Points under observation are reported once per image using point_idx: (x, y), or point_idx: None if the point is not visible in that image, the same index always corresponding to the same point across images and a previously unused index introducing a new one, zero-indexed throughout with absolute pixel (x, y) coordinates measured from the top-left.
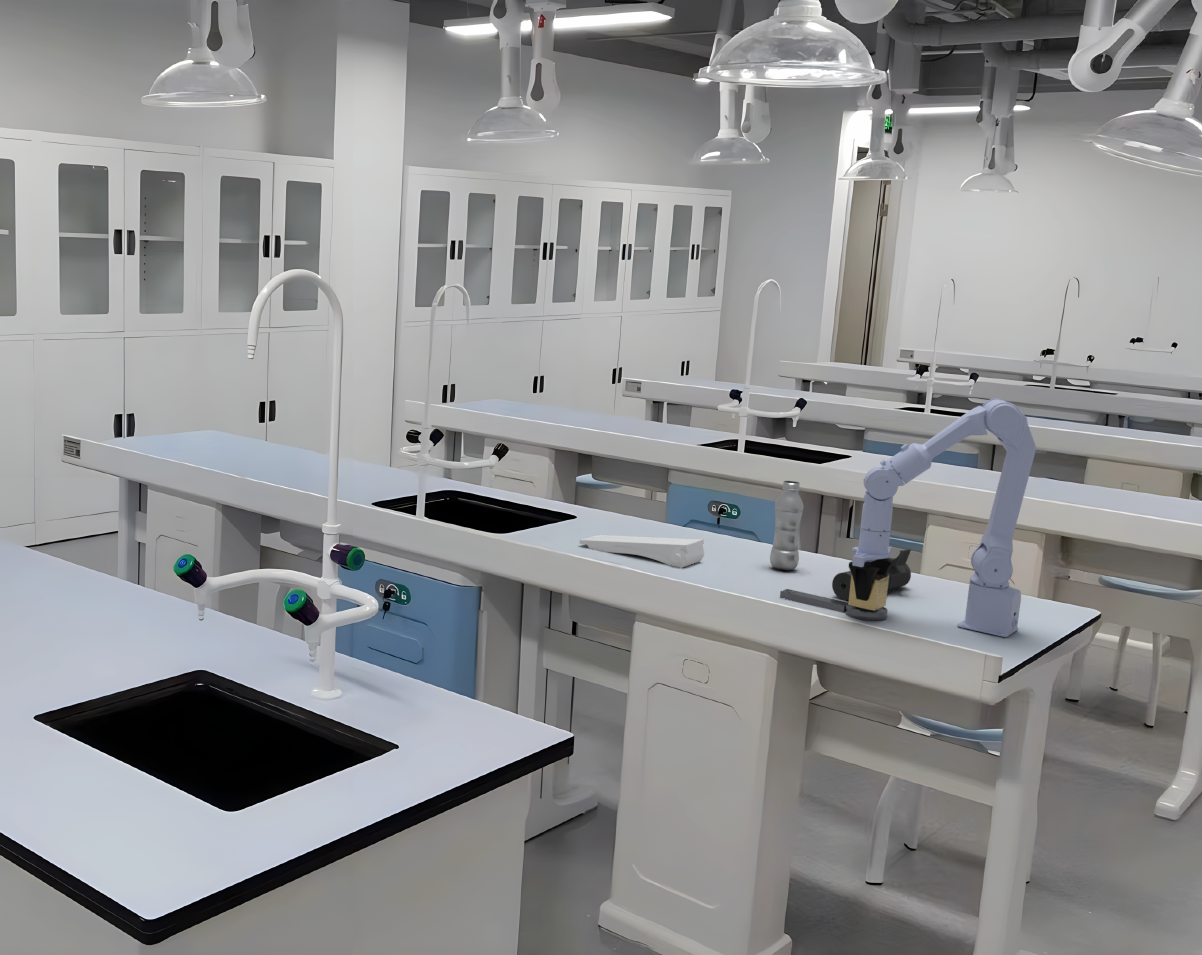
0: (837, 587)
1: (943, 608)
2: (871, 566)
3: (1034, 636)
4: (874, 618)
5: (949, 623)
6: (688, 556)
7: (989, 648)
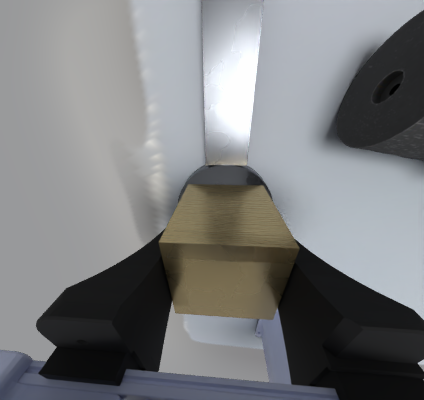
0: (394, 53)
1: (379, 275)
2: (305, 304)
3: None
4: None
5: None
6: None
7: (201, 327)
